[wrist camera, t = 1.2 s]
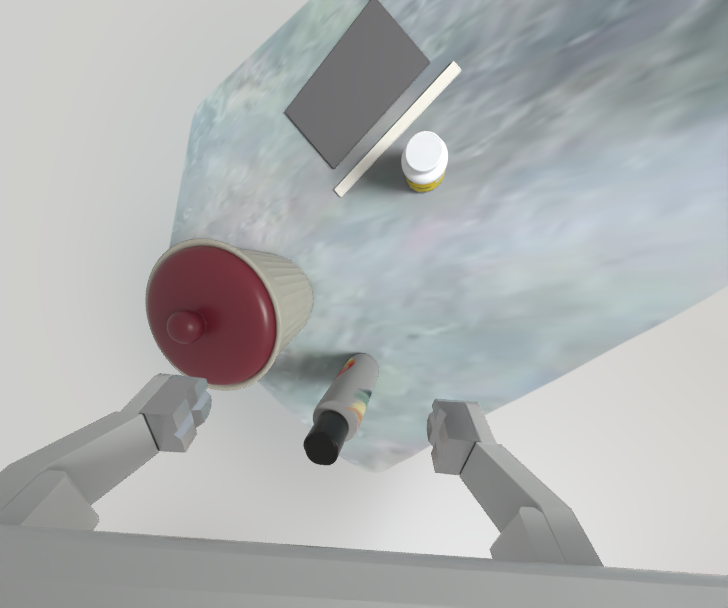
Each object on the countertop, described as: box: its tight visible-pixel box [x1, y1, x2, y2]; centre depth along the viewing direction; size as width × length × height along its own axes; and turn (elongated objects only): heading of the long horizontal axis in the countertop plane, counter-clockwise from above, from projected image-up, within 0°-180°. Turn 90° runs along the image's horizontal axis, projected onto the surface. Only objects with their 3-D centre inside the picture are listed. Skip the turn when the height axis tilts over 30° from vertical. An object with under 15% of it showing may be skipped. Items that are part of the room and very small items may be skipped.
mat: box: [285, 0, 430, 169], centre depth 38 cm, size 18×11×1 cm, turn 132°
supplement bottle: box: [401, 131, 448, 193], centre depth 34 cm, size 5×5×10 cm
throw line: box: [334, 61, 461, 197], centre depth 38 cm, size 22×2×1 cm, turn 132°
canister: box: [146, 239, 313, 391], centre depth 37 cm, size 18×18×21 cm
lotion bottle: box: [304, 353, 379, 465], centre depth 37 cm, size 6×6×20 cm
